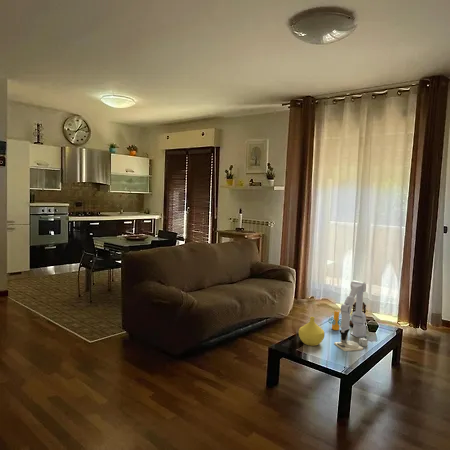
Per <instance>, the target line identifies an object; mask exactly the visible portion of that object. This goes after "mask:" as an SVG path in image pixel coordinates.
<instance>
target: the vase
mask: <svg viewBox="0 0 450 450" xmlns="http://www.w3.org/2000/svg"><path fill="white" fill-rule="evenodd" d="M309 318H310V320H309V321H308V322H307V323H305V324H303V326H301V327H299V329H298V337H299V339H300V341H301V342H302V343H304V345H307V346H310V347H314V346H318V345H320V344H321V343H322V342H323V340H324V338H325V330H324V329H322V327H320V326H319V325H318V324H317V323H316V322H315V316H310V317H309Z"/></svg>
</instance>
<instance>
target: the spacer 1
mask: <svg viewBox="0 0 450 450" xmlns="http://www.w3.org/2000/svg"><path fill="white" fill-rule="evenodd" d="M348 336H349V333H348V334H347V335H346V339H345V341H343V340H342V338H341V337H340V342H344V343H347V340H348V341H349V339H348V338H349V337H348Z"/></svg>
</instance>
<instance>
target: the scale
mask: <svg viewBox="0 0 450 450" xmlns="http://www.w3.org/2000/svg"><path fill="white" fill-rule="evenodd" d="M333 344H334V345H335V346H336V347H338V348H340V350H341V351H344V352H351V351H363V350H364V347H362V346H360V345H359V342H356V341H353V340H349V339H348V340H347V343H344V342H341V341H336V342H335V341H334V343H333Z"/></svg>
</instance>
